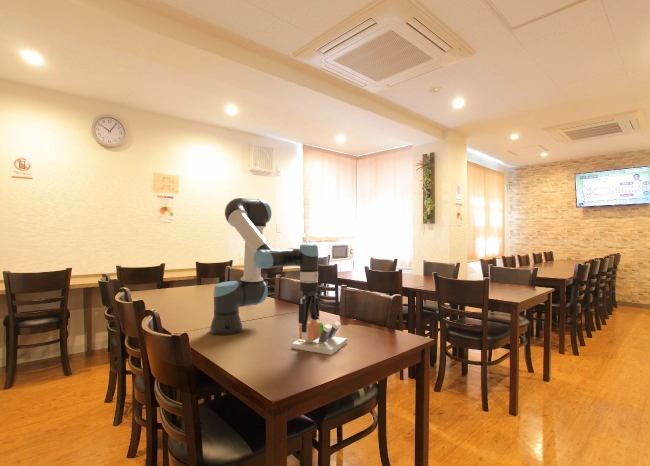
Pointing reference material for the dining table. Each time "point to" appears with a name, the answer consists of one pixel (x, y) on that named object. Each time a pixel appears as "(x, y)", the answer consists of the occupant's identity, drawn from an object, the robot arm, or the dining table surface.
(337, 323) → the lever plain
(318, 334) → the cap
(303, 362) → the dining table surface
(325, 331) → the lever tagged
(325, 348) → the panel
